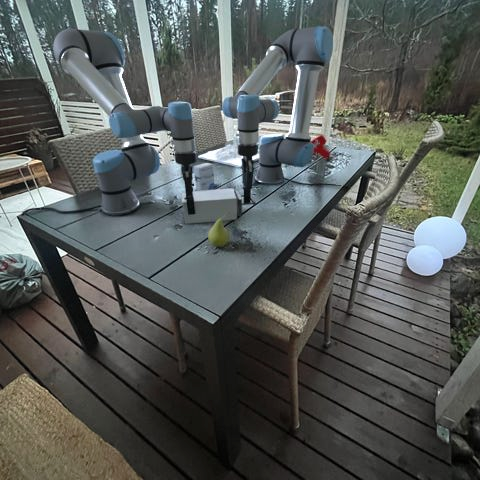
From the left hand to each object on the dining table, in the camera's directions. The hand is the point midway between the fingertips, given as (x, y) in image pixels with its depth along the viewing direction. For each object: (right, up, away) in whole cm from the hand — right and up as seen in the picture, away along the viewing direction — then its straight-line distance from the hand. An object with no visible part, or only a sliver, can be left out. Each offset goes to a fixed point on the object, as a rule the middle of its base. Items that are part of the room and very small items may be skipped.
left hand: (191, 207), depth 108 cm
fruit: (+12, -15, -15) cm, 24 cm away
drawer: (+13, -1, +4) cm, 13 cm away
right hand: (+22, +2, +3) cm, 23 cm away
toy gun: (+67, +41, +71) cm, 106 cm away
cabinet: (+7, -3, +3) cm, 8 cm away
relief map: (+13, +42, +73) cm, 86 cm away
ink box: (+2, +13, +28) cm, 31 cm away
